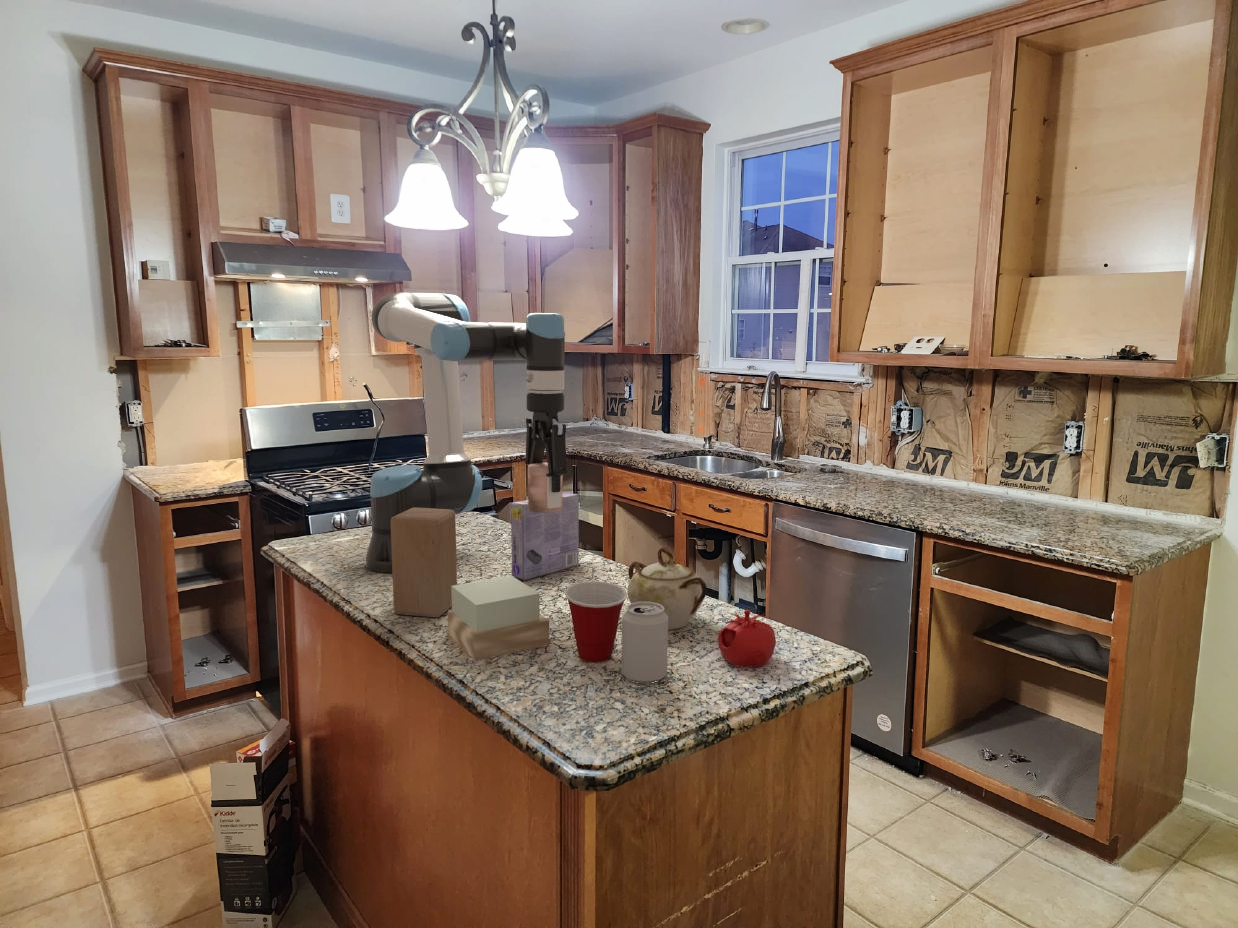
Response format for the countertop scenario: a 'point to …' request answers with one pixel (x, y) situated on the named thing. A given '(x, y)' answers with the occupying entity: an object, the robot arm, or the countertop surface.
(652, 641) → the can
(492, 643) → the tower base
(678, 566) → the sugar bowl
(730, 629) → the pomegranate
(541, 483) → the pink rounded cylinder
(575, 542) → the cake pan box
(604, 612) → the plastic cup
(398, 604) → the block
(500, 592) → the tower top
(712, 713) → the countertop surface
